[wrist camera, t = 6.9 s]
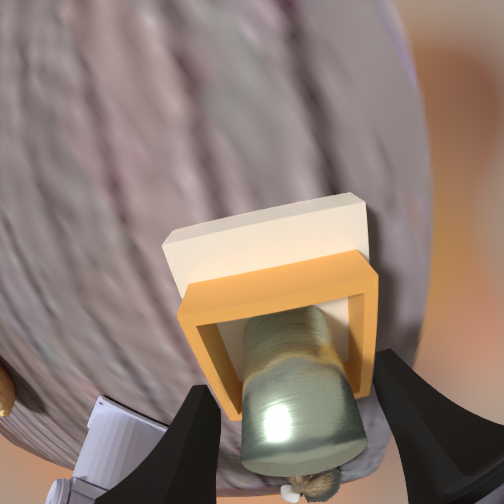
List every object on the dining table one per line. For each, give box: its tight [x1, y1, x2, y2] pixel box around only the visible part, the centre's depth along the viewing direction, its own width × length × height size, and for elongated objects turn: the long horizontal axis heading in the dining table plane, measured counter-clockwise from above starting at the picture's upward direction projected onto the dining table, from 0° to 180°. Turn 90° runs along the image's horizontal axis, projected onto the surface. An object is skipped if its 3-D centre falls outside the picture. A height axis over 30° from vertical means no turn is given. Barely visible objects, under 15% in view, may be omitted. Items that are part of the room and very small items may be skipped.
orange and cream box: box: [162, 192, 378, 421], centre depth 13 cm, size 12×9×4 cm
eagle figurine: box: [281, 469, 343, 503], centre depth 22 cm, size 8×7×9 cm
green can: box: [241, 305, 368, 477], centre depth 10 cm, size 4×4×7 cm
